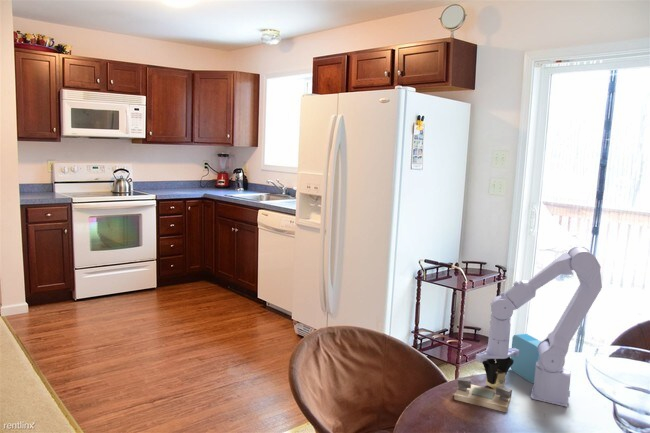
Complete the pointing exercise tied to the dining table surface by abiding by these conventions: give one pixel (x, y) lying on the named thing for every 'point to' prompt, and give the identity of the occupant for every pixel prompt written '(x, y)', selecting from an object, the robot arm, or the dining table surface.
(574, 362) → the dining table surface
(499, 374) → the coupler
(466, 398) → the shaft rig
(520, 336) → the light blue flat block
